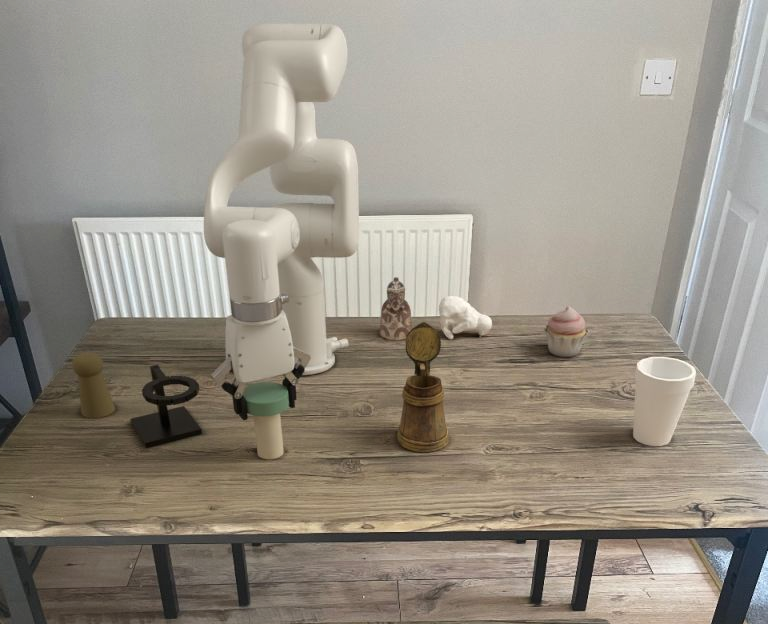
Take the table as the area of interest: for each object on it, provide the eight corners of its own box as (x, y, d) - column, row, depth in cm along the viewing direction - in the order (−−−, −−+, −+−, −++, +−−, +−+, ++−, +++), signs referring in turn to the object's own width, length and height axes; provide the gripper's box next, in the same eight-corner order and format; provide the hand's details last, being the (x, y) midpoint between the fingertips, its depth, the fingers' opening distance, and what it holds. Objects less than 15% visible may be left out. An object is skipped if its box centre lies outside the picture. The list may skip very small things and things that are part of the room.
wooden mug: (446, 414, 147) (450, 321, 137) (449, 452, 136) (454, 353, 125) (397, 414, 147) (397, 321, 137) (397, 452, 136) (397, 353, 126)
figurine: (377, 338, 176) (376, 285, 169) (382, 326, 181) (382, 274, 174) (409, 341, 175) (410, 287, 168) (413, 328, 180) (414, 275, 173)
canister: (282, 437, 140) (276, 378, 134) (300, 457, 135) (295, 396, 128) (241, 448, 137) (233, 388, 131) (258, 468, 132) (251, 407, 125)
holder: (184, 410, 149) (174, 350, 142) (218, 455, 136) (209, 391, 129) (131, 423, 145) (118, 362, 138) (160, 470, 132) (147, 405, 125)
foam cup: (649, 455, 135) (664, 385, 127) (612, 431, 141) (625, 363, 134) (691, 442, 138) (708, 373, 131) (653, 419, 145) (667, 352, 138)
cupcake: (552, 339, 175) (558, 294, 169) (592, 349, 170) (599, 303, 165) (533, 353, 169) (538, 308, 163) (574, 364, 164) (580, 317, 158)
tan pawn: (105, 419, 146) (92, 363, 140) (75, 416, 147) (61, 361, 141) (120, 404, 151) (109, 349, 144) (91, 401, 152) (78, 347, 146)
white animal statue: (440, 290, 175) (495, 296, 175) (435, 327, 180) (488, 333, 180) (440, 301, 170) (496, 307, 170) (435, 338, 175) (490, 344, 175)
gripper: (298, 289, 127) (305, 389, 138) (192, 309, 121) (207, 413, 131) (318, 304, 122) (324, 407, 132) (209, 326, 115) (223, 433, 125)
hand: (266, 410), depth 131 cm, fingers closed on canister, 7 cm apart
